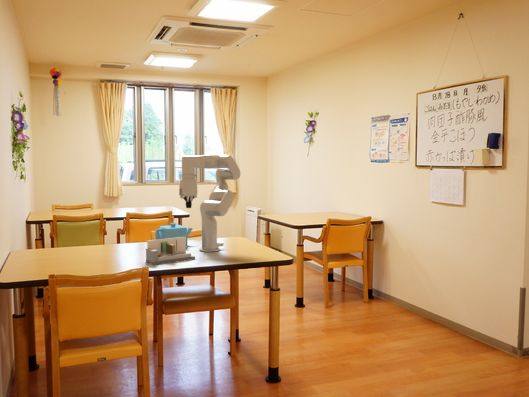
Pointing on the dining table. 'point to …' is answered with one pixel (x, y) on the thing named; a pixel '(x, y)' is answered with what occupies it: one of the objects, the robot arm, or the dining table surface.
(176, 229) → the container
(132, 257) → the dining table surface
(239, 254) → the dining table surface
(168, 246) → the gauge slider
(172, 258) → the gauge base
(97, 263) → the dining table surface
